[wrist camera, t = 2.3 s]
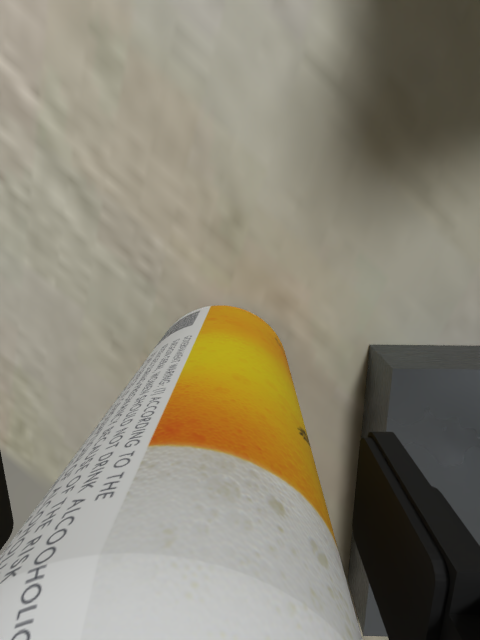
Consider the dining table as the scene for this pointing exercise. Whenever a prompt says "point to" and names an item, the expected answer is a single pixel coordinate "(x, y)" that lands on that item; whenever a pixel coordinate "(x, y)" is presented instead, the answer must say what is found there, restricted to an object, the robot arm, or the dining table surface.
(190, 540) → the beer can
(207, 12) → the dining table surface
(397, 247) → the dining table surface
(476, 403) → the plate
